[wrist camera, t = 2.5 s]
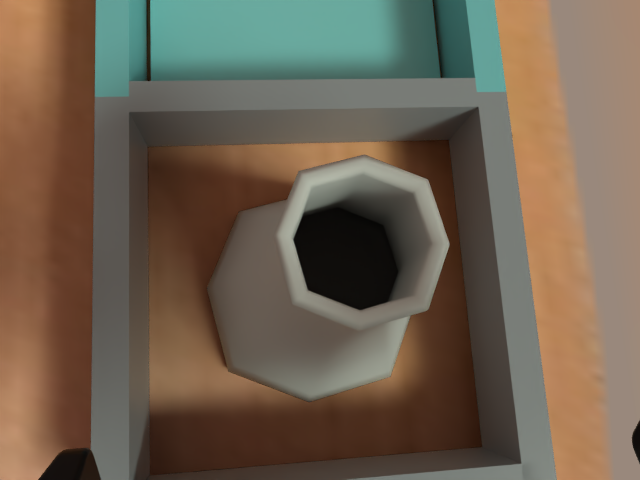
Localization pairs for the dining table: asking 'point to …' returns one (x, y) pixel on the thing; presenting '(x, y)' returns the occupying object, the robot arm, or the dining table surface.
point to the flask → (328, 278)
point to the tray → (314, 127)
